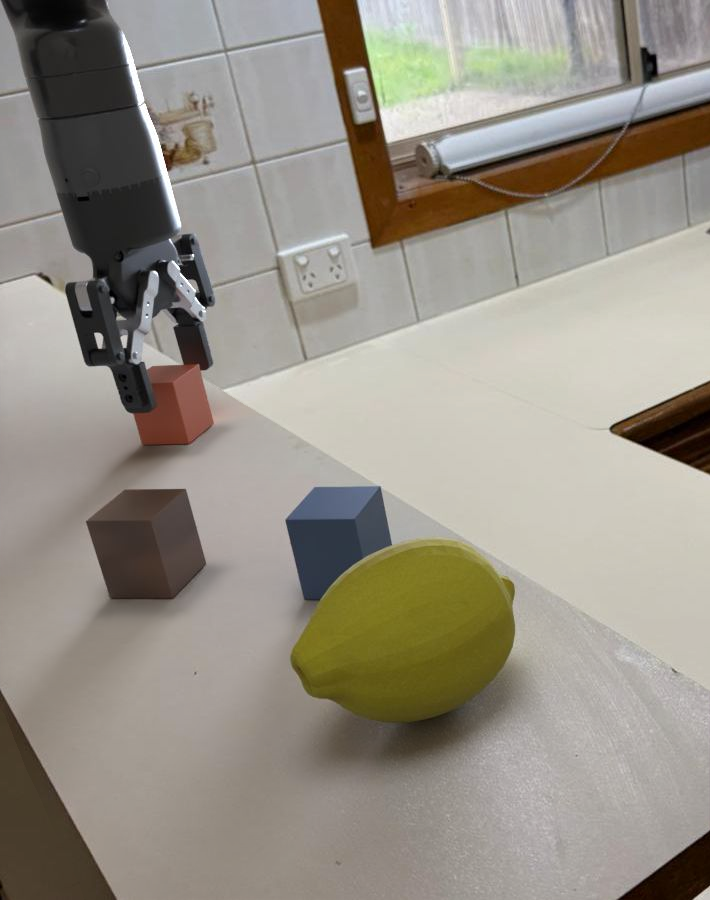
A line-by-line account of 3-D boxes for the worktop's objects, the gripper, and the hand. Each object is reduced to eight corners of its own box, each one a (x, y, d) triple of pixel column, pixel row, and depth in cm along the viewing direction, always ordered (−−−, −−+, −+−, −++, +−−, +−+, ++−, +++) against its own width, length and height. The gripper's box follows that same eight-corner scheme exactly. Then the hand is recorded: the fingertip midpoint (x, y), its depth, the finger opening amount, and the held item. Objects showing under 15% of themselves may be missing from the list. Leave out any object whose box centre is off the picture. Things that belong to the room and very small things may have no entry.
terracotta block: (141, 445, 87) (124, 384, 85) (168, 424, 91) (152, 365, 89) (189, 444, 86) (172, 382, 84) (214, 423, 90) (199, 363, 88)
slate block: (303, 599, 63) (284, 519, 61) (331, 563, 67) (314, 486, 65) (371, 600, 62) (354, 519, 60) (396, 563, 66) (380, 485, 64)
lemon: (496, 627, 58) (474, 487, 55) (565, 702, 52) (545, 549, 49) (288, 705, 54) (251, 557, 51) (336, 797, 47) (296, 635, 44)
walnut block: (109, 598, 65) (85, 521, 63) (146, 563, 69) (124, 489, 67) (172, 598, 65) (150, 520, 63) (206, 563, 68) (186, 488, 66)
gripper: (119, 161, 88) (176, 359, 94) (-1, 203, 75) (73, 429, 81) (208, 152, 86) (259, 355, 93) (100, 194, 73) (167, 425, 80)
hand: (172, 389), depth 87 cm, fingers open, 8 cm apart
